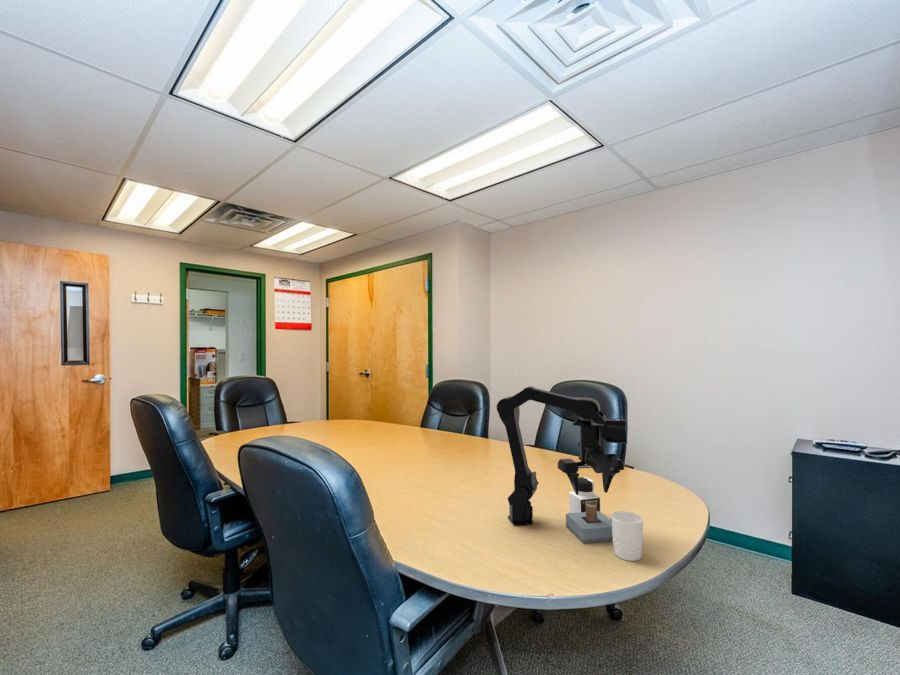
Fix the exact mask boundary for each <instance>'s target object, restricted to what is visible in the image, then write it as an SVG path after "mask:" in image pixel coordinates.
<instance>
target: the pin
mask: <svg viewBox="0 0 900 675" xmlns="http://www.w3.org/2000/svg"><path fill="white" fill-rule="evenodd" d="M585 504H586V522H587V523H588V524H589V523H597V503H596V502H594V501H586V502H585Z"/></svg>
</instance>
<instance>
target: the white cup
mask: <svg viewBox="0 0 900 675" xmlns="http://www.w3.org/2000/svg"><path fill="white" fill-rule="evenodd" d="M610 520H611V524H612V537H613V541H612V544H613V553H614V555H615V556H616V557H618V558H619V559H622V560H624V561H629V562H633V561H634V562H635V561H639V560H641V558H642V556H643V555H642V553H643V552H642V551H643V549H642V548H643V537H644V536H643V533H644V528H643V527H644V518H643V517H642V516H641V515H639V514H637V513H635V512H631V511H625V510H617V511H613V512H611V513H610Z"/></svg>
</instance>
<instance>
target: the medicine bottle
mask: <svg viewBox="0 0 900 675" xmlns="http://www.w3.org/2000/svg"><path fill="white" fill-rule="evenodd" d="M594 485H595V483H594V480H592V479H591V478H589V477H584V476H583V477H578V489H579V492H578V495H576V494H575V491H574V490H573V491H569V493H568V499H569V500H568V502H569V503H568V505H569V508H568V509H569V513H580V512H586V504H585V502H586V501H594V502H596V503H597V511H600V512H601V497H600V496H599V495H597V494H596V493H595V486H594Z"/></svg>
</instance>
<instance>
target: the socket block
mask: <svg viewBox="0 0 900 675" xmlns="http://www.w3.org/2000/svg"><path fill="white" fill-rule="evenodd" d="M565 527H566V528H567V529H568V531H570V532H571V534H573V535H574V537H576V538H577V539H578V540H579V541H580V542H581V543H582V544H591V543H592V544H593V543H602V542H603V543H604V542H605V543H606V542H613V537H612V524H611V518H609V517H608V516H606V515H605V514H604V513H603V512H601V510H600V511H597V523H589V524H588V523H587V522H586V512H580V513H570V512H569V513H568V512H567V513H565Z"/></svg>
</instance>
